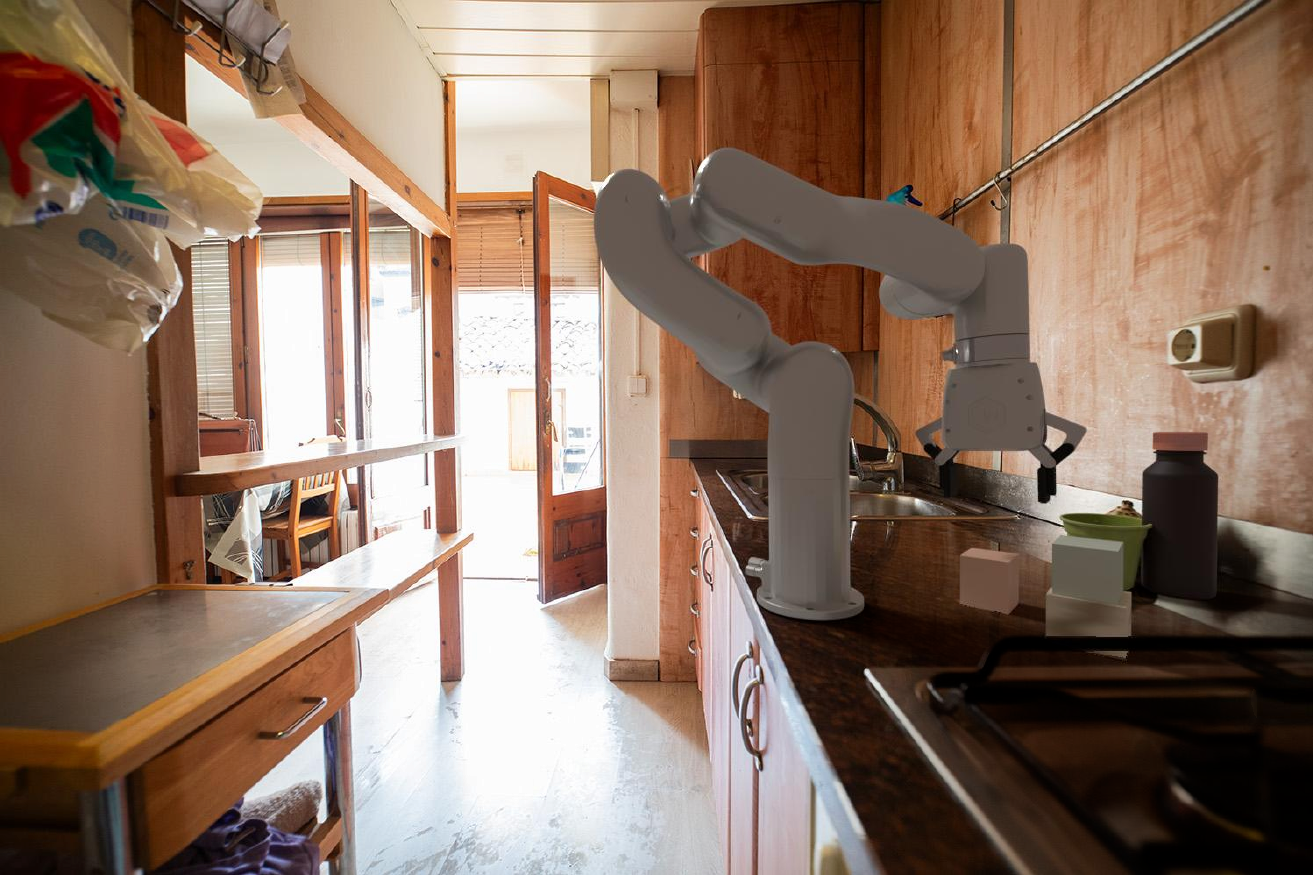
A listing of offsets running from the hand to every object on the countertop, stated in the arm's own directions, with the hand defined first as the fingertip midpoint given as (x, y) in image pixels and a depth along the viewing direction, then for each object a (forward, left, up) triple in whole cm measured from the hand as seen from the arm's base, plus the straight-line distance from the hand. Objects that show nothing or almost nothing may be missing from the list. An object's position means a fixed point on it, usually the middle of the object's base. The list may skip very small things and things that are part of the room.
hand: (995, 498), depth 64 cm
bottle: (+15, +20, -13) cm, 28 cm away
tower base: (+9, -6, -13) cm, 17 cm away
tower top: (+9, -6, -8) cm, 14 cm away
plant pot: (+8, +18, -13) cm, 23 cm away
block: (-1, 0, -13) cm, 13 cm away
